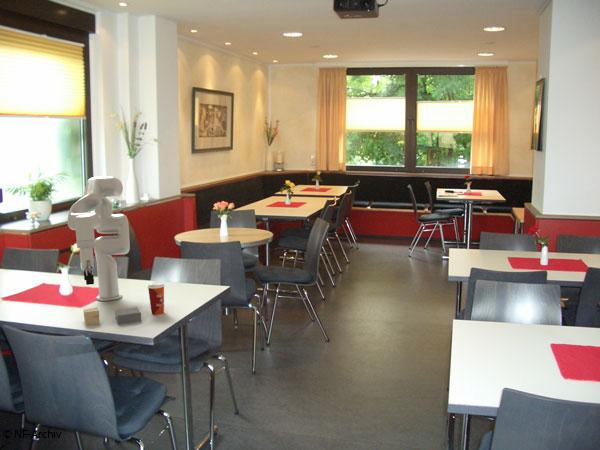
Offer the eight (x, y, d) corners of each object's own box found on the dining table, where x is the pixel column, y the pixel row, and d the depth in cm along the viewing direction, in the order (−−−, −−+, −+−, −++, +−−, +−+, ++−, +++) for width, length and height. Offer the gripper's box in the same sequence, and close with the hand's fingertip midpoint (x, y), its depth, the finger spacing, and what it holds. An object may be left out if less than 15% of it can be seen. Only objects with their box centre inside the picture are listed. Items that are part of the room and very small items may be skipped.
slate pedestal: (115, 318, 286) (114, 309, 285) (137, 315, 290) (137, 306, 289) (118, 324, 277) (117, 315, 276) (141, 321, 281) (140, 312, 280)
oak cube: (84, 321, 283) (83, 308, 282) (98, 319, 285) (97, 307, 284) (85, 325, 277) (84, 312, 277) (99, 323, 280) (98, 310, 279)
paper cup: (162, 315, 288) (160, 285, 286) (146, 315, 289) (144, 285, 287) (169, 310, 295) (167, 281, 293) (153, 310, 297) (151, 281, 295)
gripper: (75, 241, 282) (78, 279, 285) (78, 247, 267) (81, 287, 269) (92, 239, 285) (96, 277, 288) (97, 245, 270) (100, 285, 272)
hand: (89, 281), depth 278 cm, fingers open, 9 cm apart
